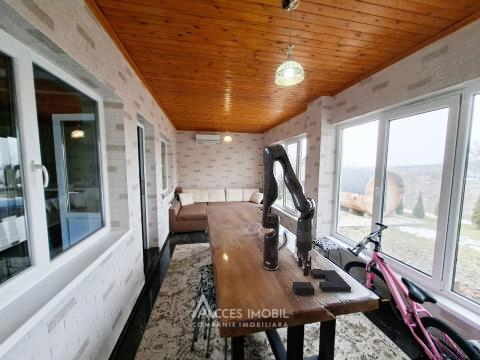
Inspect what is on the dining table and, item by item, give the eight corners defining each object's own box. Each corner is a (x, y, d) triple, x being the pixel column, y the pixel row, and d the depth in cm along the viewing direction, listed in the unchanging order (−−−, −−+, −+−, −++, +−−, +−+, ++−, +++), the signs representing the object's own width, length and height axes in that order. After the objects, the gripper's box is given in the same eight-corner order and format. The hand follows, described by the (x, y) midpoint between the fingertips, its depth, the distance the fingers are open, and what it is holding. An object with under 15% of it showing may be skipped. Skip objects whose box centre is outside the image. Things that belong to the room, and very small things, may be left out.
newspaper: (324, 271, 114) (324, 267, 114) (304, 274, 113) (304, 270, 113) (308, 254, 137) (308, 250, 136) (291, 256, 136) (291, 252, 136)
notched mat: (310, 274, 111) (310, 269, 111) (334, 274, 111) (334, 270, 111) (323, 291, 95) (323, 286, 95) (350, 291, 95) (351, 287, 95)
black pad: (292, 288, 97) (292, 281, 97) (310, 288, 98) (310, 281, 97) (295, 294, 92) (295, 287, 92) (314, 295, 93) (314, 288, 92)
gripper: (292, 233, 100) (291, 264, 101) (301, 244, 86) (299, 279, 87) (306, 234, 100) (305, 264, 101) (317, 244, 86) (316, 279, 87)
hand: (303, 271), depth 94 cm, fingers open, 8 cm apart
